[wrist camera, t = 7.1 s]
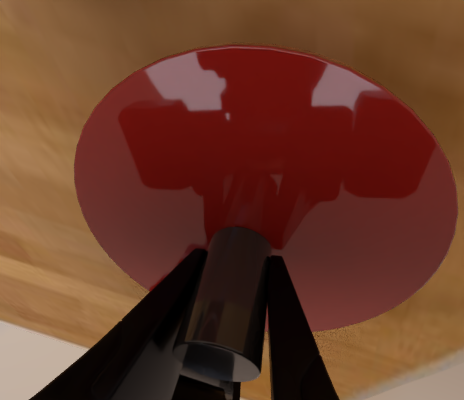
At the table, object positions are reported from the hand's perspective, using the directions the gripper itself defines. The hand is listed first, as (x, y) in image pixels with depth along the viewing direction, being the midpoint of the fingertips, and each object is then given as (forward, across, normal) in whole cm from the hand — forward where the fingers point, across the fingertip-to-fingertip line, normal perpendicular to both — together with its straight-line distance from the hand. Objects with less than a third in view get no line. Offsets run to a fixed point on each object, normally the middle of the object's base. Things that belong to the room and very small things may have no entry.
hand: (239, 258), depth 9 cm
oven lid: (+1, 0, 0) cm, 1 cm away
